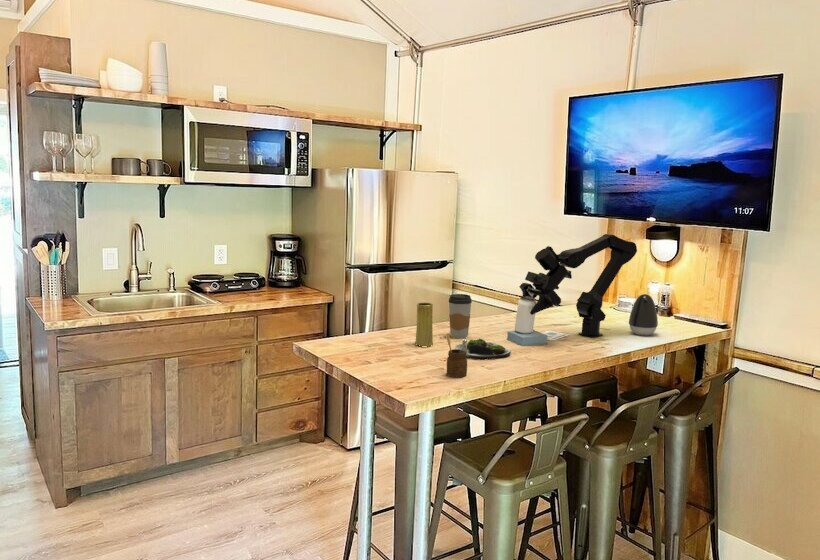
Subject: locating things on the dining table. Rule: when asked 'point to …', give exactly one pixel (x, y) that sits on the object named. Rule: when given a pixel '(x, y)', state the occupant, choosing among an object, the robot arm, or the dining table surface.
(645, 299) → the black egg-shaped dome
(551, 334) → the page
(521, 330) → the can
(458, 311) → the coffee cup
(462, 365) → the utensil holder
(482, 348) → the salad plate
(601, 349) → the dining table surface
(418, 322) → the vase
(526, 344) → the base brick
